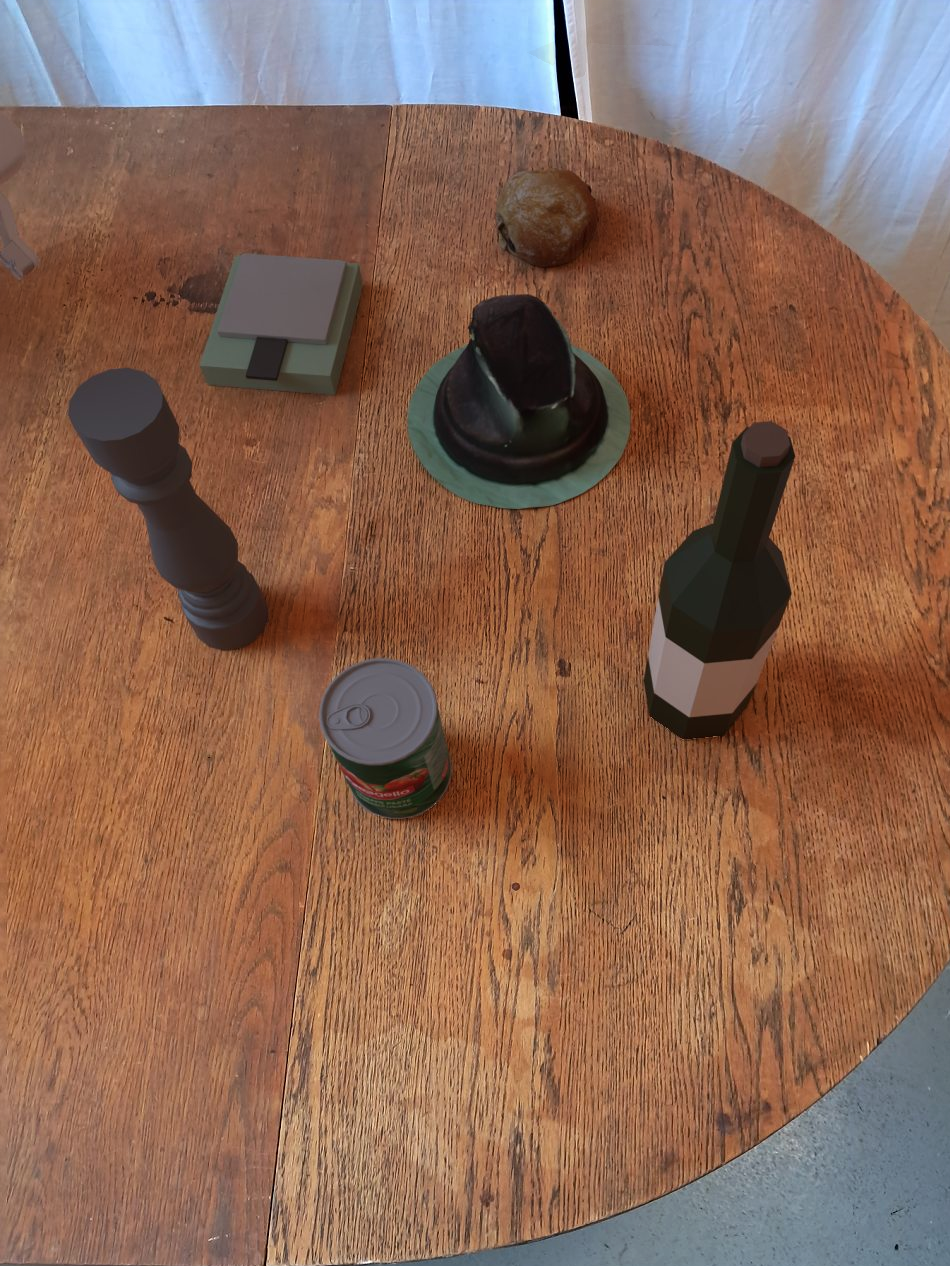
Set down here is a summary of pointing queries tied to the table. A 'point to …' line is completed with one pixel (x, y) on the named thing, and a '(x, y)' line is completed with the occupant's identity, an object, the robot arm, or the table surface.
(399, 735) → the canned tomato
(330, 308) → the scale
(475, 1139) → the table surface
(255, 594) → the candle holder
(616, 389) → the black hat
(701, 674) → the wine bottle
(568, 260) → the bread roll
